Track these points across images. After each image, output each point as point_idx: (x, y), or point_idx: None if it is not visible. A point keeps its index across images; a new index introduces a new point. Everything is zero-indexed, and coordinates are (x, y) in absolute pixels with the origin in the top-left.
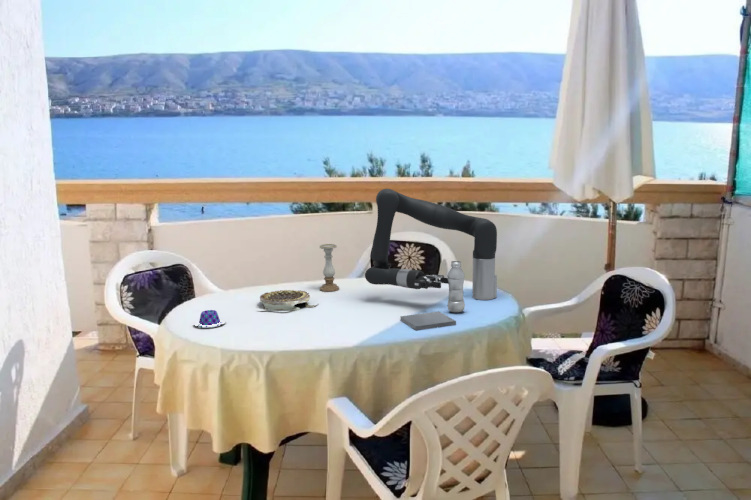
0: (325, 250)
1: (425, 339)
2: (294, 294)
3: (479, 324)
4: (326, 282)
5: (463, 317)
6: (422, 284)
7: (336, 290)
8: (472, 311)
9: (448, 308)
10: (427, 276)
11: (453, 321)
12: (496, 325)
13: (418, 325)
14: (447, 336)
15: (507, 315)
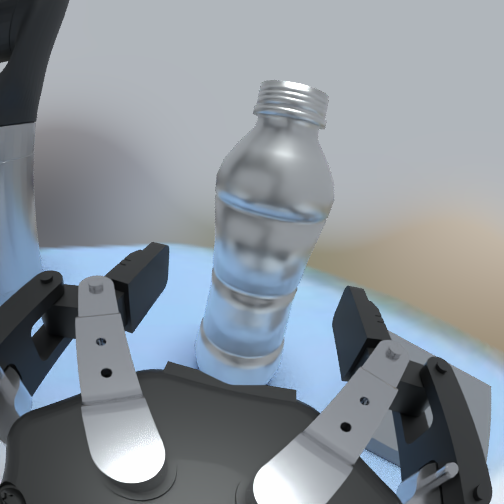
0: None
1: (487, 353)
2: None
3: (332, 298)
4: None
5: (294, 338)
6: (429, 435)
7: None
8: (199, 322)
9: (266, 382)
10: (164, 452)
11: (392, 333)
12: (313, 274)
13: (483, 385)
14: (447, 330)
15: None
